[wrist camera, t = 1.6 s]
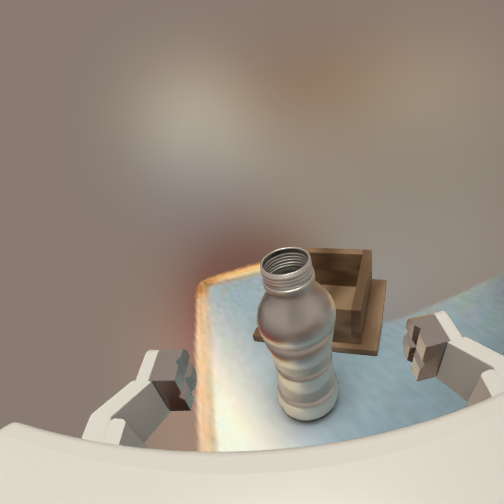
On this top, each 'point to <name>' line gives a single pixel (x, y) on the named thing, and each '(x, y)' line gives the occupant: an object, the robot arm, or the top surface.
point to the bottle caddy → (350, 298)
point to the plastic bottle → (298, 333)
